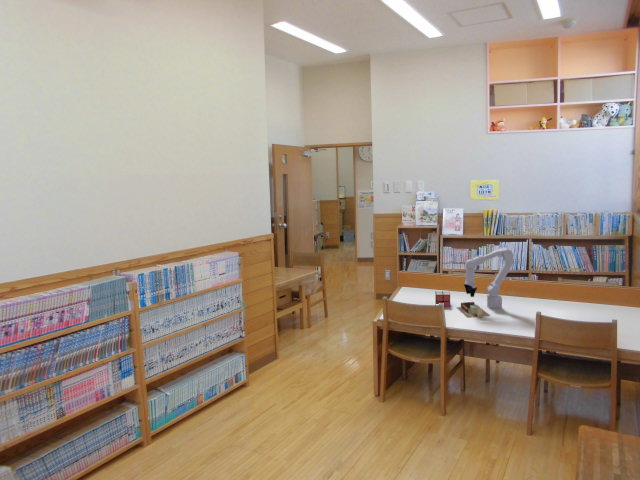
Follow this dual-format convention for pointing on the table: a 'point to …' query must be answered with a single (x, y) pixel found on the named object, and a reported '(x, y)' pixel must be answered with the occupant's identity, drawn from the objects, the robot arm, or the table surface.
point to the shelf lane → (466, 310)
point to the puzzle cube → (442, 298)
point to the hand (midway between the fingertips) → (470, 295)
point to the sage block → (476, 310)
